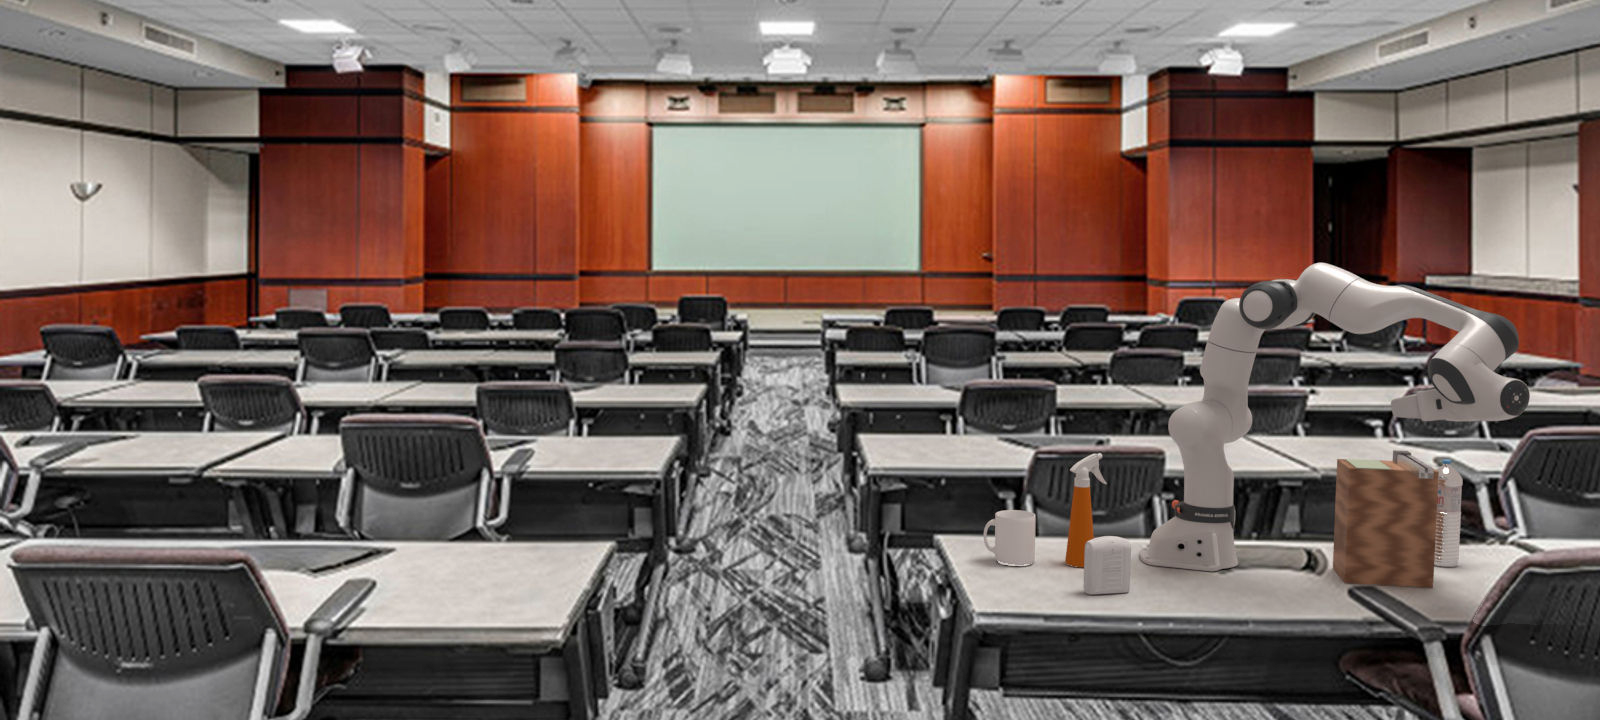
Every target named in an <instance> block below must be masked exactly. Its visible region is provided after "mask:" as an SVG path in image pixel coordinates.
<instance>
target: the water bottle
mask: <svg viewBox="0 0 1600 720" xmlns="http://www.w3.org/2000/svg"><path fill="white" fill-rule="evenodd" d="M1441 462H1442V463H1441V464H1442V465H1441V466H1439V467H1438V468H1436V469H1435V470H1437V471H1439V478H1438V498H1437V519H1436V539H1435V560H1434V565H1435V566H1434V567H1439V566H1441V567H1440V568H1455V567H1457V566H1458V565H1459V559H1460V558H1459V557H1460V541H1461V540H1460V537H1461V536H1460V534H1461V520H1462V516H1461V515H1462V508H1461V507H1462V488H1463V483H1464V482H1463V477H1462V475H1461V474H1460V473H1459V472H1458V471H1457V469H1455V468H1453V467H1452V466H1451V465H1452V460H1451V459H1445V458H1444V459H1442V460H1441Z"/></svg>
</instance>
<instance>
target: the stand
mask: <svg viewBox="0 0 1600 720" xmlns="http://www.w3.org/2000/svg"><path fill="white" fill-rule="evenodd" d="M1345 459H1346V458H1337V459H1336V477H1335V478H1336V479H1335V481H1336V482H1335V502H1334V503H1335V506H1334V527H1333V528H1334V529H1333V549H1332V550H1333V553H1332V555H1333V558H1332V569H1333V571H1334V572H1335V573H1336V574H1337V576H1338V577H1339V578H1340V580H1342V582H1343V583H1344V584H1355V585H1357V584H1358V585H1371V584H1377V585H1376V586H1388V585H1389V586H1391V585H1395V586H1394V587H1405V586H1415V587H1414V588H1422V587H1428V588H1427V589H1434V577H1435V575H1434V574H1435V566H1434V560H1435V539H1436V519H1437V498H1438V478H1439V471H1437V470H1436V469H1435V468H1434V475H1433V479H1426V478H1418V477H1416V476H1415V475H1413V474H1411V473H1410V472H1408V471H1407V470H1405V469H1404V468H1402V467H1401V466H1399V465H1397V464H1395V463H1394V462H1393V460H1382V459H1381V460H1379V459H1378V460H1379V461H1380V462H1382V463H1383V464H1385V465H1386V466H1388V467H1389V468H1391V470H1382V469H1357V468H1355V467H1354V466H1353V465H1351V464H1350V463H1349V462H1347V461H1346V460H1345ZM1389 586H1388V587H1389ZM1391 587H1392V586H1391Z"/></svg>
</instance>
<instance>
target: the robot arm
mask: <svg viewBox="0 0 1600 720" xmlns="http://www.w3.org/2000/svg"><path fill="white" fill-rule="evenodd" d="M1316 315H1318V316H1321V317H1323V318H1324V319H1325V320H1327V321H1329V322H1330V323H1332V324H1333V325H1335V326H1337V327H1339V328H1340V329H1342V330H1344V331H1346V332H1349V333H1351V334H1356V335H1365V334H1372V333H1375V332H1378V331H1381V330H1383V329H1385V328H1387V327H1390V326H1391V325H1393V324H1396V323H1399V322H1402V321H1405V320H1409V319H1424V320H1427V321H1431V322H1433V323H1436V324H1437V325H1440V326H1442V327H1443V326H1444V327H1445V328H1448V329H1450V330H1453V331H1456V332H1457V334H1455V335H1454V337H1452V339H1450V340H1449V341H1448V342H1447V344H1445V345H1444V346H1442V347H1441V348H1440V349H1439V351H1438V352H1436V354H1435V355H1433V357H1432V358H1431V359H1429V361H1428V365H1427V372H1428V377H1429V379H1430V382H1431V384H1432V386H1433V387H1430V388H1429V387H1428V388H1426V389H1422V390H1418V391H1416V393H1414V394H1410V395H1406V396H1401V397H1400V396H1399V397H1397V398H1393V399H1391V400H1390V408H1391V412H1392V415H1393V416H1394V417H1396V418H1404V419H1405V418H1406V419H1421V421H1422V422H1435V421H1446V422H1447V421H1448V422H1479V421H1484V422H1497V421H1507V420H1512V419H1514V418H1517V417H1519V416H1520V415H1521V414H1522V413H1524V412H1525V410H1527V407H1528V405H1529V402H1530V399H1531V398H1530V397H1531V396H1530V393H1531V392H1530V389H1529V387H1528V385H1527V384H1526V383H1525V382H1524V381H1522V380H1521V379H1518V378H1513V377H1506V376H1503V375H1500V374H1498V373H1496V372H1495V370H1496V369H1497V368H1498V367H1499V366H1500V365H1501V364H1502V363H1504V362H1505V361H1507V360H1508V359H1509V358H1510V357H1512V356H1513V355H1514V354H1515V353H1517V351H1518V350H1519V347H1520V339H1519V333H1518V330H1517V328H1516V326H1515V324H1514V323H1513V322H1512V321H1511V320H1509V319H1508V318H1506V317H1504V316H1503V315H1500V314H1496V313H1492V312H1488V311H1483V310H1479V309H1475V308H1473V307H1469V306H1466V305H1464V304H1461V303H1458V302H1456V301H1454V300H1450V299H1448V298H1445V297H1442V296H1439V295H1437V294H1435V293H1432V292H1428V291H1426V290H1423V289H1421V288H1417V287H1414V286H1411V285H1407V284H1396V285H1383V284H1377V283H1374V282H1371V281H1368V280H1366V279H1364V278H1362V277H1360V276H1358V275H1356V273H1355V274H1354V273H1353V272H1351V271H1348V270H1346V269H1343V268H1342V267H1338V266H1336V265H1333V264H1330V263H1326V262H1317V263H1313V264H1311V265H1309V266H1308V267H1307V268H1305V269H1304V271H1302V273H1300V276H1299V277H1298V278H1297V279H1295V278H1294V279H1293V278H1292V279H1287V278H1277V279H1273V280H1263V281H1259V282H1257V283H1254V284H1252V285H1251V286H1249V287H1248V288H1247V289H1245V290H1244V292H1243V293H1242V295H1241V296H1240V297H1236V298H1235V297H1234V298H1230V299H1227V300H1226V301H1224V302H1223V303H1222V304H1221V306H1220V308H1219V309H1218V312H1217V313H1216V315H1215V318H1214V320H1213V323H1212V326H1211V328H1210V331H1209V335H1208V337H1207V341H1206V345H1205V348H1204V352H1203V355H1202V360H1201V364H1200V367H1199V373H1200V376H1201V377H1202V378H1203V397H1202V399H1201V400H1200V401H1192V402H1189V403H1186V404H1184V405H1182V406H1181V407H1179V408H1177V409H1175V410H1174V412H1172V413H1171V415H1170V417H1169V418H1168V422H1167V423H1168V424H1167V425H1168V427H1167V428H1168V433H1169V435H1170V437H1171V439H1172V440H1173V441H1174V443H1175V444H1176V445H1177V446H1178V449H1179V452H1180V456H1181V460H1182V464H1183V465H1182V466H1183V472H1184V474H1183V475H1184V476H1183V477H1184V481H1183V482H1184V483H1183V484H1184V485H1183V486H1184V487H1183V488H1184V489H1183V492H1184V493H1183V494H1184V495H1183V500H1182V501H1179V500H1177V499H1174V500H1173V501H1171V506H1172V508H1173V509H1174V516H1173V517H1172V518H1171V519H1169V520H1168V521H1166V522H1164V523H1163V524H1161V525H1159V526H1158V527H1157V528H1155V529H1154V530H1153V532H1152V534H1151V536H1150V540H1149V545H1148V546H1146V547H1144V548H1141V549H1140V551H1139V560H1140V561H1142V562H1143V563H1144V564H1146V565H1149V566H1155V567H1156V566H1157V567H1166V568H1167V567H1168V568H1175V569H1176V568H1177V569H1187V570H1193V571H1195V570H1196V571H1203V572H1205V571H1206V572H1217V571H1220V570H1222V569H1224V570H1225V569H1229V568H1234V567H1237V566H1238V565H1239V560H1238V557H1237V552H1236V545H1235V535H1234V528H1235V524H1236V509H1235V508H1236V506H1235V504H1234V485H1235V484H1234V483H1235V482H1234V481H1235V474H1234V470H1233V468H1231V467H1230V466H1229V465H1228V462H1227V459H1226V455H1225V448H1224V447H1225V444H1230V443H1231V444H1232V443H1233V442H1234V443H1235V442H1237V441H1238V440H1240V439H1241V438H1243V437H1244V436H1245V435H1246V434H1247V433H1248V432H1249V431H1250V430H1251V428H1252V424H1253V415H1252V411H1251V410H1250V408H1249V406H1248V402H1249V401H1248V399H1249V397H1248V393H1249V383H1250V378H1251V375H1252V370H1253V365H1254V363H1255V360H1256V359H1255V358H1256V355H1257V350H1258V347H1259V344H1260V340H1261V337H1262V336H1263V334H1264V332H1265V331H1266V330H1284V329H1287V328H1290V327H1298V326H1302V325H1304V324H1306V323H1308V322H1309V321H1311V320H1312V319H1313V318H1314V317H1315V316H1316Z"/></svg>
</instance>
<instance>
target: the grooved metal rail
mask: <svg viewBox="0 0 1600 720" xmlns="http://www.w3.org/2000/svg"><path fill="white" fill-rule="evenodd" d="M1392 461H1393V462H1394V463H1395V464H1397V465H1399V466H1401V467H1402V468H1404V469H1405V470H1407V471H1408V472H1410V473H1411V474H1413V475H1415V476H1416V477H1418V478H1426V479H1433V475H1434V469H1435V468H1434V467H1432V466H1431V465H1428V464H1427V463H1425V462H1423V461H1422V460H1420V459H1418V458H1417V457H1415V456H1413V455H1412V452H1410V451H1408V450H1392Z"/></svg>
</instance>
